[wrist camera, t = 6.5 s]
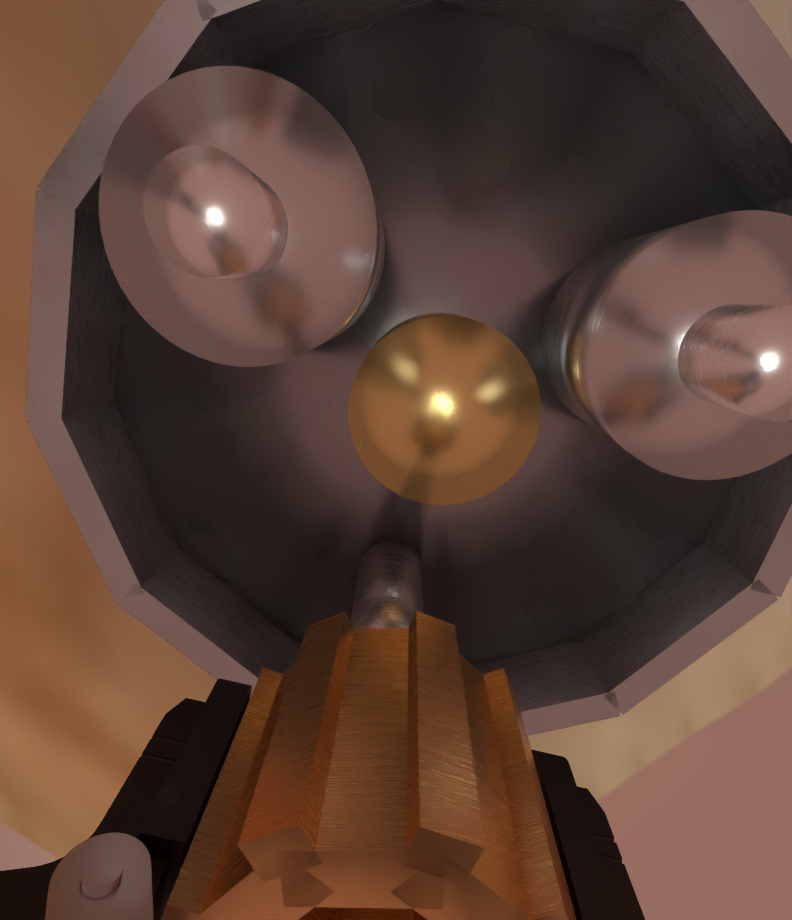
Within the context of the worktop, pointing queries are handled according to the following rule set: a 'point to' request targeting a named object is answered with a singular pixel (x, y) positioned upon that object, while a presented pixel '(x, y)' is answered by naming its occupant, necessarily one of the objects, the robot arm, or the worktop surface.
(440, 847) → the planet gear
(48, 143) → the worktop surface
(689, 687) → the worktop surface
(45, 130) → the worktop surface
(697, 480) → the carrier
